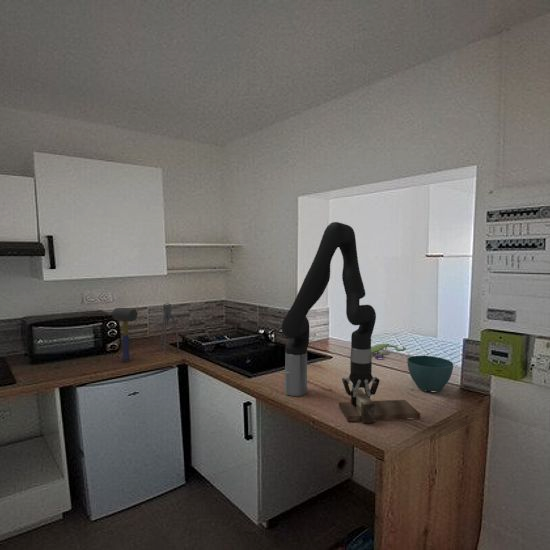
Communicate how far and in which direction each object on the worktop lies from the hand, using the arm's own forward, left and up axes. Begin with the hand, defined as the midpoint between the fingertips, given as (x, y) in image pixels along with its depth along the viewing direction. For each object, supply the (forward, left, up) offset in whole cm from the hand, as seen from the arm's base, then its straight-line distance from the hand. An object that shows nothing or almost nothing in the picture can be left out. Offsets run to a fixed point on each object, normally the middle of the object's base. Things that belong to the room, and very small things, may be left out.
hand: (360, 405), depth 131 cm
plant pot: (+38, +21, -3) cm, 43 cm away
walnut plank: (+7, 0, -3) cm, 7 cm away
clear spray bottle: (-89, +95, -3) cm, 130 cm away
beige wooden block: (0, -1, -2) cm, 3 cm away
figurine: (+38, +76, -4) cm, 85 cm away
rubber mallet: (-108, +78, -3) cm, 134 cm away
